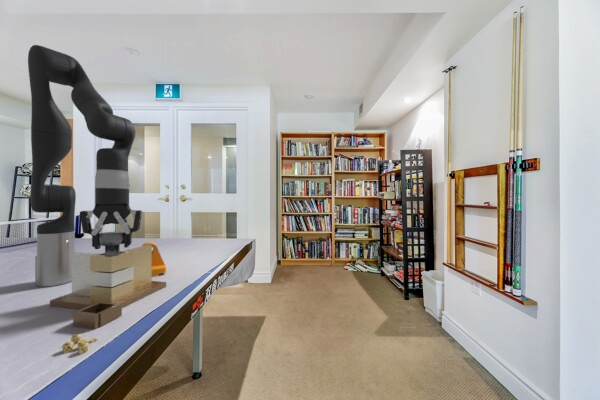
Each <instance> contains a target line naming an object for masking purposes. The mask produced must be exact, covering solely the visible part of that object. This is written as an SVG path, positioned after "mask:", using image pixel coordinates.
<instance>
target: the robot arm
mask: <svg viewBox="0 0 600 400" xmlns="http://www.w3.org/2000/svg"><path fill="white" fill-rule="evenodd" d="M27 66H28V78H29V86H30V96H31V97H30V98H31V118H30V119H31V120H30V122H31V124H30V125H31V126H30V141H31V143H30V144H31V164H32V165H31V179H30V181H31V183H30V195H29V197H30V198H29V200H30V201H29V202H30V208H31V210H32V211H33V212H34V213H40V214H41V213H62V214H61V215H60V216H59V217H56V218H55V219H52V220H51V221H46V222H43V223H40V224H38V225H37V227H36V255H35V257H34V260H35V263H34V264H35V265H34V269H35V270H34V273H35V274H34V277H35V279H34V280H35V281H34V284H35V285H36V286H37V287H44V288H45V287H55V286H60V285H65V284H68V283H72V253H73V252H76V251H75V250H76V249H75V248H76V247H75V246H76V245H75V243H76V241H75V239H76V238H75V236H76V235H75V232H76V231H75V225H76V224H75V215H76V214H75V211H76V197H77V195H76V189H75V188H74V186H71V185H61V184H60V185H59V184H58V185H57V184H56V185H54V184H51V185H49V184H46V181H47V179H48V177H49V175H50V174H51V172H52V171H53V169H55V167H56V166H57V165H58V164H59V163H61V162H62V161H63V160H64V159H65V158H66V156H67V155H68V154H69V153H70V151H71V150H72V142H73V130H72V126H71V124H70V122H69V121H68V120H67V118H66V116H65V115H64V114H63V112H62V110H61V109H60V108H59V107H58V105H57V104H56V101H55V100H54V98H53V95H52V91H51V87H50V83H54V84H58V85H60V86H61V85H62V86H68V87H71V88H72V90H71V94H70V98H71V101H72V103H73V105H74V106H75V107H76V108H77V110H78V111H79V112H80V114H81V115H82V116H83V117H84V121H85V123H86V128H87V130H88V132H89V133H90V134H92V135H93V136H95V137H97V138H99V139H103V140H107V141H113V142H114V143H113V144H112V147H105V148H99V149H98V150H97V151H96V159H95V160H96V161H95V163H96V165H95V166H96V167H95V169H96V170H95V176H94V187H95V188H94V208H93V210H80V212H79V217H80V223H81V227H82V228H81V229H82V232H83V234H87V235H91V246H92V247H93V248H94V250H99V249H101V247H102V246H100V245H98V238H99V233H102V232H101V231H102V230H103V228H104V227H105V225H110V224H113V225H120V227H121V228H122V229H123V232H125V234H124V244H123V247H124V248H129V246H131V245H132V242H133V241H132V238H133V237H132V235H133V233H135V232H138V231H139V230H140V228H141V227H140V226H141V223H142V222H141V221H142V218H143V217H142V215H143V210H141V209H140V210H139V209H138V210H137V209H136V210H135V209H131V207H130V186H131V184H130V178H129V177H130V176H129V156H130V152H131V150H132V147H133V143H134V141H135V138H136V127H135V125H134V123H133V122H132V121H131V120H130V119H128V118H126V117H122V116H119V115H117V114H114V112H113V108H112V107H111V105H110V104H109V103H108V101H106V99H105V98H104V97H102V95H101V94H100V93H99V91H97V89H96V88H95V86H94V85H93V84H92V82H91V80H90V78H89V77H88V75H87V72H86V71H85V69H84V68H83V66H82V65H81V64H80V62H79V61H78V60H77V59H76V58H74V57H73V56H71V55H69V54H66V53H63V52H61V51H57V50H54V49H51V48H48V47H46V46H42V45H38V44H34V45H32V46H31V47H30V48H29V50H28V55H27ZM130 214H131V217H132V218H134V221H133V226H132V227H131V226H130V223H129V221H128V220H127V218H128V216H129V215H130ZM93 215H94V216H95V217H96V218H97V219H98V220H97V221H96V223H95V225H94V228H93V227H92V222H91V219H92V218H93Z"/></svg>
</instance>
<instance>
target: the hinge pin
mask: <svg viewBox="0 0 600 400" xmlns="http://www.w3.org/2000/svg"><path fill="white" fill-rule="evenodd" d="M124 234H125V231H120V230H119V231H118V230H117V231H105V232H100V233H99V238H98V245H100V246H101V247H104V253H105V255H106V256H113V255H117V254H120V251H121V249H120V245H124Z"/></svg>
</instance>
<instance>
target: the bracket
mask: <svg viewBox="0 0 600 400" xmlns="http://www.w3.org/2000/svg"><path fill="white" fill-rule="evenodd" d="M145 245H152V270H151V278H154V277H159V276H160V275H161V274H165V273H167V266H166V265H165V262H164V259H163V257H162V255H161V253H160V251H159V248H158V246H157V245H156V243H155V242H152V241H146V242H145V243H143V244H142V245H141V246H145Z"/></svg>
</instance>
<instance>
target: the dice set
mask: <svg viewBox="0 0 600 400" xmlns="http://www.w3.org/2000/svg"><path fill="white" fill-rule="evenodd" d="M70 338H71V339H70V341H67V342H65V343H64V344H62V353H63V354H65V353H66V354H67V353H70V352H72V351H73V350H74V346H75V345H77V354H78V355H82V354H85V353H87V352H89V342H90V343H95V342H98V338H97V337H93V338H90V339H89V340H88V339H84V338H83V339H82V334H81V333H77V334H74V335H72V336H71V337H70Z"/></svg>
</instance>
